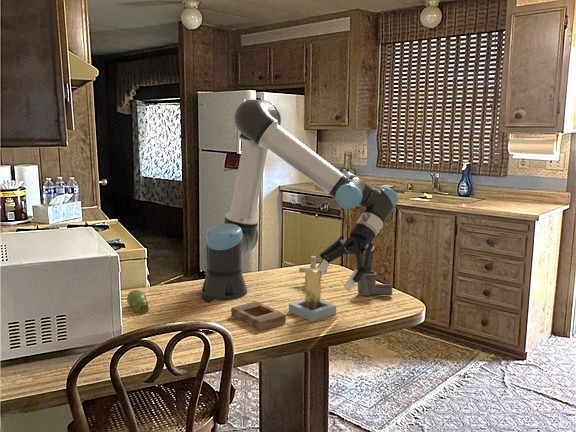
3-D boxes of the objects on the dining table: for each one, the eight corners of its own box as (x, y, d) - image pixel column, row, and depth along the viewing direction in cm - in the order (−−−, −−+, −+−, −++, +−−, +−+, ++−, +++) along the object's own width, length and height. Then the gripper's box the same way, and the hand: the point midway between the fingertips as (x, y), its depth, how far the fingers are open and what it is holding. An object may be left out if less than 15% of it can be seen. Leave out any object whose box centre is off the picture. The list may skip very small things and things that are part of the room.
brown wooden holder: (231, 320, 158) (231, 307, 158) (255, 313, 164) (255, 301, 163) (260, 335, 148) (260, 322, 147) (285, 327, 154) (285, 314, 153)
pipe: (391, 299, 179) (393, 276, 177) (353, 296, 181) (354, 273, 180) (392, 293, 184) (393, 271, 183) (354, 290, 187) (355, 268, 185)
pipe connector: (327, 288, 188) (328, 260, 187) (298, 288, 189) (299, 260, 187) (325, 279, 198) (326, 253, 196) (298, 279, 198) (299, 252, 197)
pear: (141, 286, 171) (153, 300, 163) (141, 300, 173) (152, 315, 165) (124, 288, 168) (135, 303, 160) (124, 304, 169) (134, 319, 162)
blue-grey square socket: (288, 316, 162) (288, 303, 162) (313, 308, 169) (313, 296, 168) (311, 326, 155) (311, 313, 154) (335, 318, 161) (336, 305, 160)
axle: (302, 313, 160) (303, 271, 158) (308, 308, 164) (309, 267, 162) (316, 316, 159) (317, 273, 156) (322, 311, 163) (323, 269, 160)
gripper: (332, 216, 179) (297, 267, 172) (391, 229, 160) (354, 287, 153) (343, 229, 183) (309, 280, 176) (402, 243, 164) (366, 301, 157)
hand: (330, 284), depth 165 cm, fingers open, 13 cm apart
